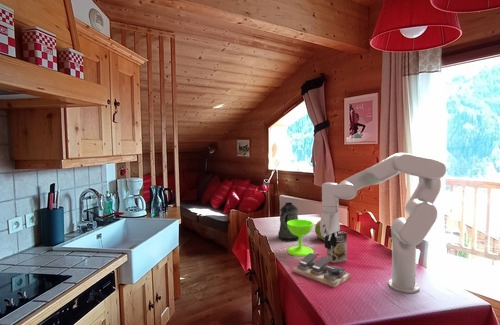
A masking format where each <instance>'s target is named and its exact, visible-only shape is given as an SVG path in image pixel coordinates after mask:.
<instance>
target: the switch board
mask: <svg viewBox="0 0 500 325" xmlns="http://www.w3.org/2000/svg"><path fill="white" fill-rule="evenodd" d="M316 262H317V261H315V260H313V261H312V262H311V263H310V264H309V265H308V266H307V267H305V266H302V265H299V264H297V266H294V267H293V272H294V273H297V274H299V275H301V276H304V277H307V278H309V279H311V280H314V281H317V282H320V283H322V284H325V285H327V286H330V287H333V288H336V287H337V286H339V285H341V284H342V283H344V282H345V281H348V280H349V279H350V278H351V273H349V272H347V271H345V270H344V271H337V272H332V271H330V270H327V269H325V267H324V268H323V269H322V270H321V271H320V272H319V271H316V270H313V269H312V268H311V267H312V266H313V265H314V264H315V263H316ZM326 266H328V264H327V265H326Z"/></svg>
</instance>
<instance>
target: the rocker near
mask: <svg viewBox="0 0 500 325" xmlns="http://www.w3.org/2000/svg"><path fill="white" fill-rule="evenodd" d="M325 269H327V270H330V271H332V272H337V271H345V267H341V266H339V265H327V266H325Z"/></svg>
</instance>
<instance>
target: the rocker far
mask: <svg viewBox="0 0 500 325" xmlns="http://www.w3.org/2000/svg"><path fill="white" fill-rule="evenodd" d="M317 258H318V254H315V253H309V254H308V255H307V256H303V258H302V259H301V260H300V261H299V262H298V265H302V266H305V267H307V266H308V265H309V264H310V263H311V262H312V261H315V260H316V259H317Z"/></svg>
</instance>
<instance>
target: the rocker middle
mask: <svg viewBox="0 0 500 325" xmlns="http://www.w3.org/2000/svg"><path fill="white" fill-rule="evenodd" d="M315 262H316V263H315V264H314V265H313V266H312V267H311V268H312V269H313V270H316V271H319V272H320V271H321V270H322V269H323V268H324V267H325V266H326V265H327V266H328V265H329V263H330V262H331V261H330V259H328V258H327V257H325V256H322V257H320V258H319V259H318V260H317V261H315Z"/></svg>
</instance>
